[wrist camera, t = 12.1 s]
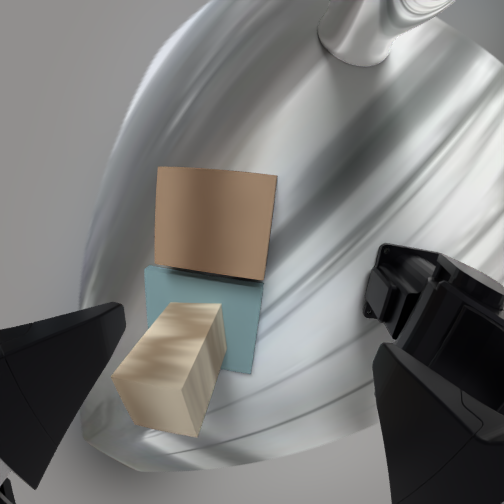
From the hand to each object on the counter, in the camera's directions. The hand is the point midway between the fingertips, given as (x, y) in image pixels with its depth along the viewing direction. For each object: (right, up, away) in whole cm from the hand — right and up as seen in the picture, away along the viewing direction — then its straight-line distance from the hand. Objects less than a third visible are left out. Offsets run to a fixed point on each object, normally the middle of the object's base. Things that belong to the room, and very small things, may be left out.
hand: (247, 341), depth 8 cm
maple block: (-4, -4, +14) cm, 15 cm away
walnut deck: (-2, +6, +12) cm, 14 cm away
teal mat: (-4, -3, +15) cm, 16 cm away
